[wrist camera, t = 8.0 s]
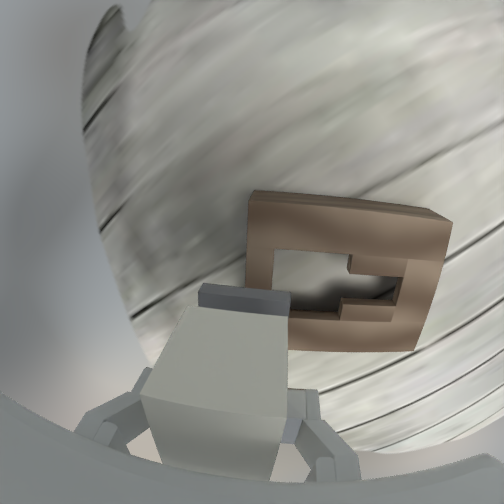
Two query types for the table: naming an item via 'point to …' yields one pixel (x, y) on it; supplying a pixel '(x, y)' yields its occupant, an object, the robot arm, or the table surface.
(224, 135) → the table surface
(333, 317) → the brown open frame
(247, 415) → the gray rectangular block
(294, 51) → the table surface
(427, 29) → the table surface
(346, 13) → the table surface
